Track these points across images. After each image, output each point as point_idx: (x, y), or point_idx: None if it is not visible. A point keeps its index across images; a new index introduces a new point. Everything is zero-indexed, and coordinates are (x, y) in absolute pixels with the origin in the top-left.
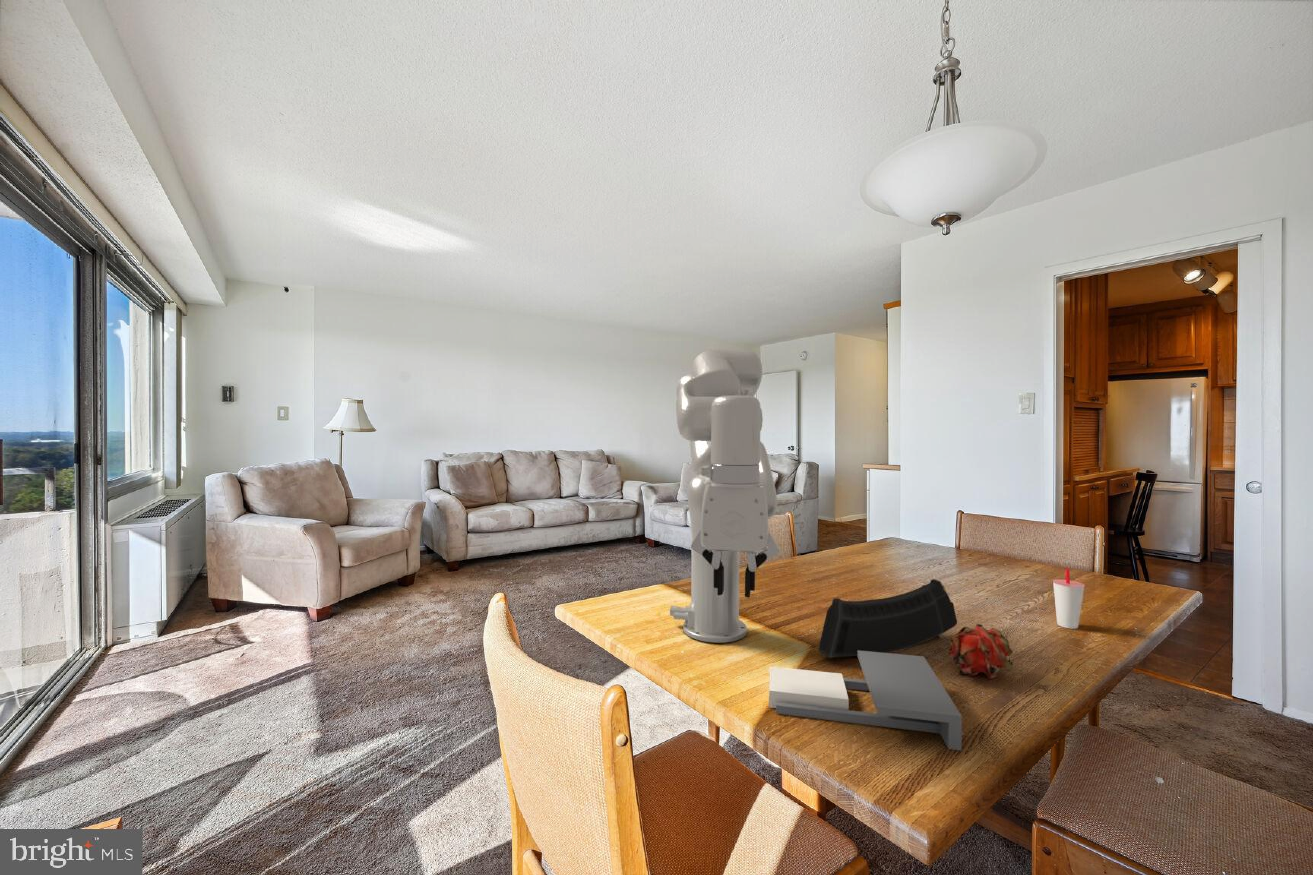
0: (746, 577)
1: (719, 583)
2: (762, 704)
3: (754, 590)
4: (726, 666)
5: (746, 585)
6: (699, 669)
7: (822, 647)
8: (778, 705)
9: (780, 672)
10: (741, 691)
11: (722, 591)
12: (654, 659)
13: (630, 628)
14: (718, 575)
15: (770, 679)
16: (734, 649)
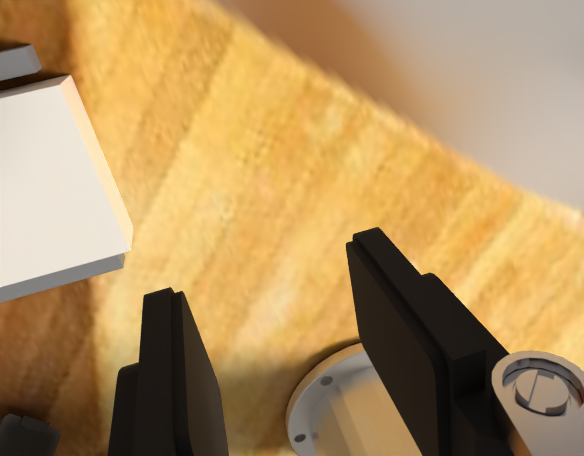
0: (168, 401)
1: (399, 272)
2: (98, 84)
3: (124, 367)
4: (279, 250)
5: (167, 342)
6: (344, 198)
7: (41, 440)
8: (17, 51)
9: (81, 229)
10: (189, 132)
11: (353, 268)
12: (473, 191)
13: (563, 310)
14: (445, 312)
15: (90, 165)
16: (289, 343)
